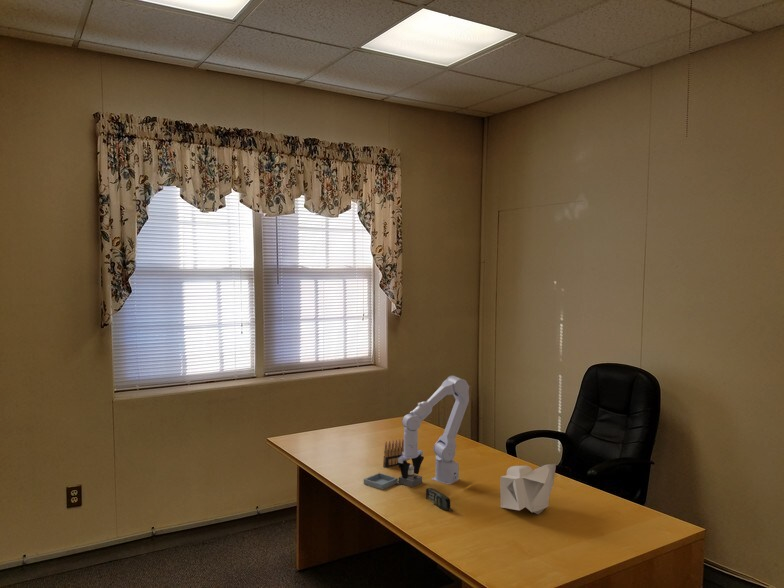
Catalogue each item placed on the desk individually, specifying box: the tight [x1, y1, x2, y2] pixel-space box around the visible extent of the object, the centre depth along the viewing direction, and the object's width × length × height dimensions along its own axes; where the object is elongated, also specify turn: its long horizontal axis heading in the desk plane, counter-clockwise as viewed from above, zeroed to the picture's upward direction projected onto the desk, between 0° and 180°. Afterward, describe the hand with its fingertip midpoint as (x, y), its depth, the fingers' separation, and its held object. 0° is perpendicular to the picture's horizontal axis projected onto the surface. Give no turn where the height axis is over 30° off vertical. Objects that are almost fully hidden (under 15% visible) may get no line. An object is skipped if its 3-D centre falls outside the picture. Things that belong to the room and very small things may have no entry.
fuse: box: [408, 464, 415, 479], centre depth 242 cm, size 3×3×7 cm
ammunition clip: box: [382, 438, 404, 469], centre depth 264 cm, size 11×2×12 cm, turn 119°
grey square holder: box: [398, 473, 423, 488], centre depth 242 cm, size 7×7×3 cm
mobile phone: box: [425, 487, 454, 512], centre depth 220 cm, size 5×3×15 cm
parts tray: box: [363, 472, 399, 491], centre depth 241 cm, size 10×10×2 cm
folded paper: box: [499, 463, 557, 516], centre depth 218 cm, size 17×24×17 cm
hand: (410, 475), depth 242 cm, fingers open, 7 cm apart
